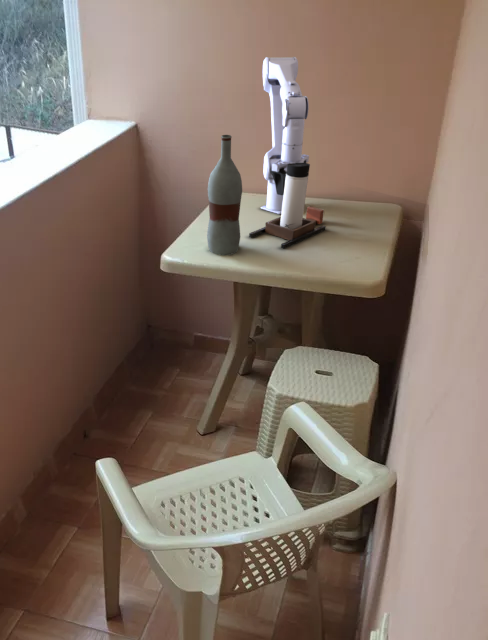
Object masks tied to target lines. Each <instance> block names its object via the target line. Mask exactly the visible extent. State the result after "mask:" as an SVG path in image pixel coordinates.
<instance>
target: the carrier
mask: <svg viewBox="0 0 488 640" xmlns="http://www.w3.org/2000/svg"><path fill="white" fill-rule="evenodd" d="M324 214H325V209H321V208H318V207H315V206H311V205H310V206H307V207H306V215H305V218H304V217H303V219H302V226H301V227H299V228H296V229H294V230H292V229H289V228H285V227H282V226H280V220H281V216H279V217H276V218H274V219H272V220H269V221H266V222H265V226H264V227H265V233H266V234H268V235H271V236H274V237H278V238H280V239H283V240H284V239H285V240H287V241H289V240H291V239H294V238H296V237H298V236H300V235H303V234H305V233H307V232H309V231H312V230H314V229H316V225H321V224H323V223H324V222H323V221H324ZM265 233H264V234H265Z"/></svg>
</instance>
